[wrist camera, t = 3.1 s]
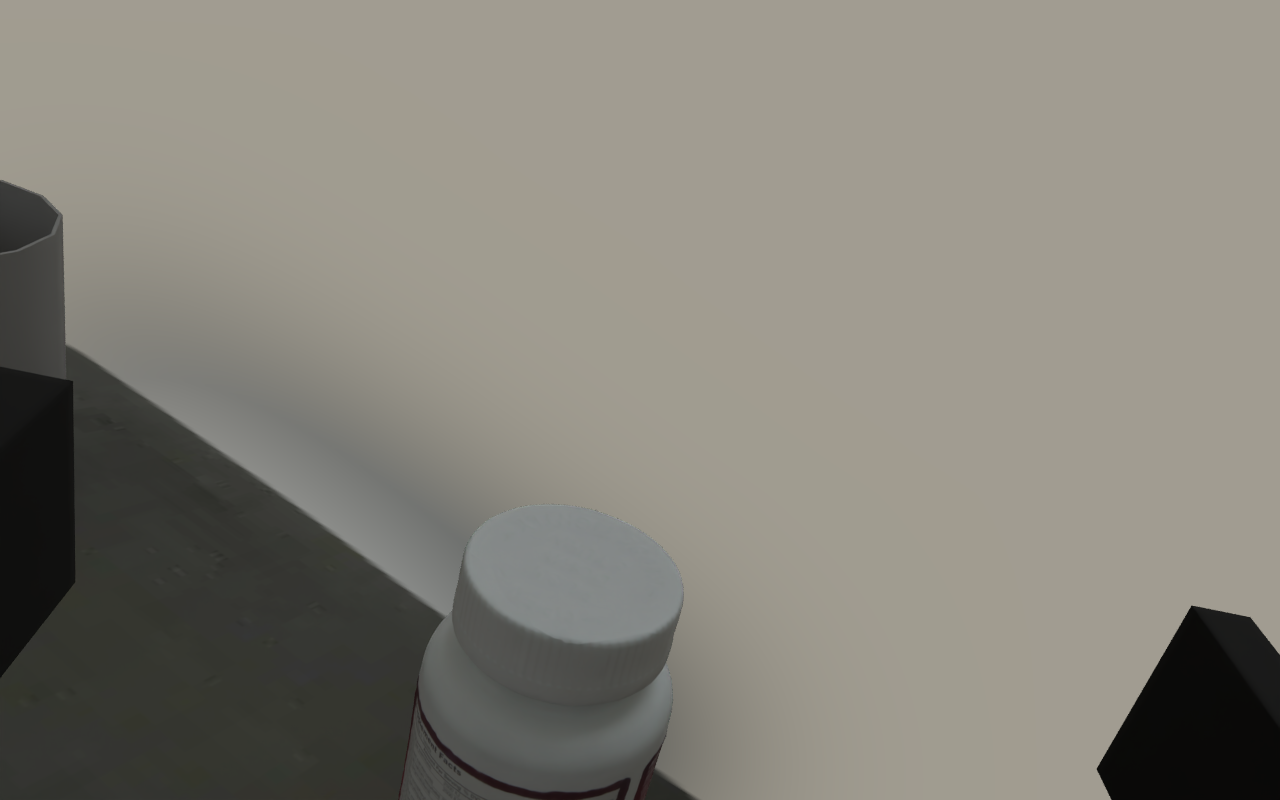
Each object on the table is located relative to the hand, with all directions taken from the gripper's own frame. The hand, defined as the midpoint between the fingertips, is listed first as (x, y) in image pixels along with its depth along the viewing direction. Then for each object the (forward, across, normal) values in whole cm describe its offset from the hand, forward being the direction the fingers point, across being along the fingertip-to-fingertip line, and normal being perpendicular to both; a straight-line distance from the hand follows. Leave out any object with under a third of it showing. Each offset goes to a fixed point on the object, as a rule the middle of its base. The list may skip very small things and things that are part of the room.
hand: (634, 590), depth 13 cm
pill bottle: (+10, 0, -18) cm, 21 cm away
